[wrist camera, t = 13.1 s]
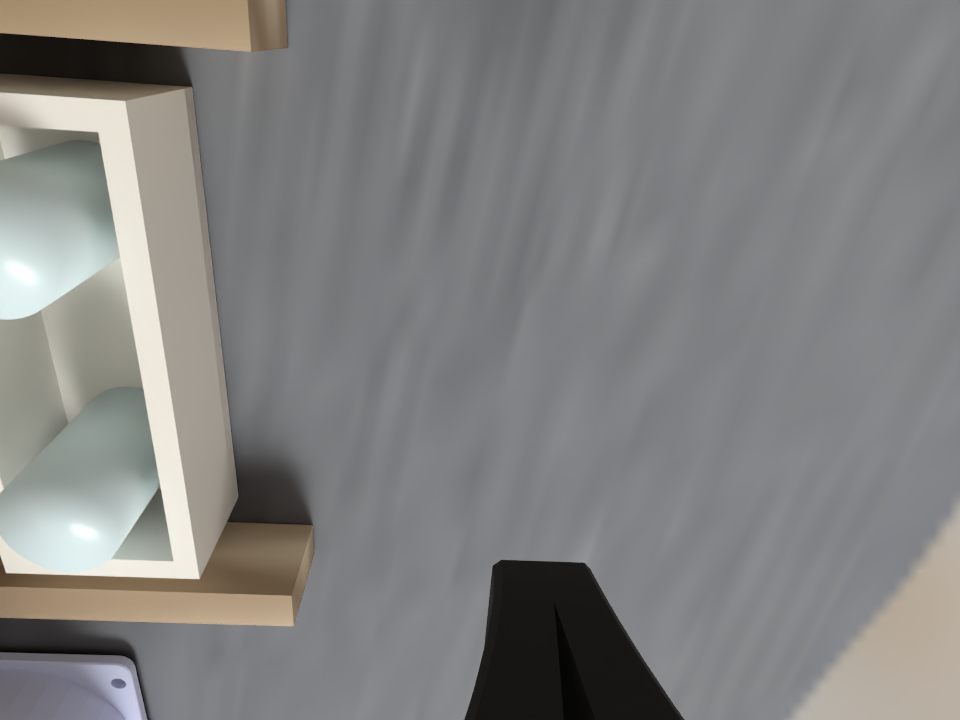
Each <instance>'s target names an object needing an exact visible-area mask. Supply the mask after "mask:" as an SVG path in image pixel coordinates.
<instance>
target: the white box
mask: <svg viewBox="0 0 960 720" xmlns="http://www.w3.org/2000/svg"><path fill="white" fill-rule="evenodd" d="M238 497H239V496H238V487H237V479H236V470H235V461H234V452H233V443H232V434H231V425H230V417H229V408H228V399H227V390H226V381H225V372H224V363H223V355H222V346H221V337H220V328H219V319H218V310H217V301H216V293H215V284H214V275H213V266H212V257H211V248H210V240H209V231H208V222H207V213H206V204H205V195H204V186H203V178H202V169H201V160H200V151H199V142H198V133H197V124H196V116H195V107H194V98H193V89H192V87H186V86H172V85H158V84H144V83H130V82H116V81H101V80H87V79H73V78H59V77H45V76H31V75H17V74H2V73H0V556H1V559H2V562H3V565H4V568H5V571H6V573H20V574H51V575H82V576H114V577H145V578H176V579H200V577H201V575H202V573H203V571H204V569H205V567H206V565H207V563H208V560H209V558H210V556H211V554H212V552H213V550H214V548H215V546H216V544H217V541H218V539H219V537H220V535H221V533H222V531H223V529H224V527H225V525H226V523H227V520H228V518H229V516H230V514H231V512H232V510H233V508H234V506H235V504H236V502H237V499H238Z"/></svg>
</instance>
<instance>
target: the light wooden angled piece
mask: <svg viewBox="0 0 960 720" xmlns="http://www.w3.org/2000/svg"><path fill="white" fill-rule="evenodd" d="M0 33H8V34H22V35H35V36H48V37H62V38H75V39H88V40H102V41H115V42H128V43H142V44H155V45H168V46H182V47H195V48H209V49H222V50H235V51H249V52H253V51H263V50H273V49H282V48H288V41H287V22H286V3H285V0H0ZM313 556H314V540H313V525H295V524H268V523H241V522H227V523H226V525H225V527H224V529H223V531H222V533H221V535H220V537H219V539H218V541H217V544H216V546H215V548H214V550H213V552H212V554H211V556H210V558H209V560H208V563H207V565H206V567H205V569H204V571H203V573H202V575H201V577H200V579H176V578H145V577H114V576H82V575H51V574H20V573H6V571H5V568H4V565H3V562H2V559H1V556H0V618H27V619H61V620H95V621H130V622H164V623H199V624H233V625H268V626H294V624H295V620H296V617H297V613H298V610H299V606H300V603H301V599H302V595H303V592H304V588H305V585H306V581H307V578H308V574H309V570H310V567H311V563H312V560H313Z"/></svg>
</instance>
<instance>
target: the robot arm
mask: <svg viewBox="0 0 960 720" xmlns="http://www.w3.org/2000/svg"><path fill="white" fill-rule="evenodd" d="M0 720H147V716H146V712H145V708H144V703H143V699H142V694H141V690H140V686H139V681H138V677H137V673H136V668H135V665H134V663H133V661H131V660H130V659H129V658H127V657H125V656H119V655H81V654H43V653H5V652H0ZM465 720H684V719H683V717H682V716H681V714H680V713H679V711H678V710H677V709H676V707H675V706H674V704H673V703H672V701H671V700H670V698H669V697H668V695H667V694H666V692H665V691H664V690H663V688H662V687H661V685H660V684H659V682H658V681H657V679H656V678H655V676H654V675H653V673H652V672H651V670H650V669H649V667H648V666H647V664H646V663H645V661H644V660H643V658H642V656H641V655H640V653H639V652H638V650H637V649H636V647H635V645H634V644H633V642H632V641H631V639H630V637H629V636H628V634H627V632H626V631H625V629H624V628H623V626H622V624H621V623H620V621H619V619H618V618H617V616H616V614H615V613H614V611H613V609H612V607H611V606H610V604H609V602H608V600H607V599H606V597H605V595H604V593H603V592H602V590H601V588H600V586H599V584H598V583H597V581H596V579H595V577H594V575H593V573H592V571H591V570H590V568H589V567H588V566H587V565H586V564H585V563H574V562H545V561H516V560H501V561H499V562H498V563H496V564H495V565H493V569H492V578H491V588H490V598H489V608H488V617H487V627H486V637H485V647H484V651H483V655H482V659H481V664H480V668H479V672H478V676H477V680H476V684H475V687H474V691H473V694H472V698H471V701H470V704H469V707H468V710H467V713H466V717H465Z"/></svg>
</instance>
